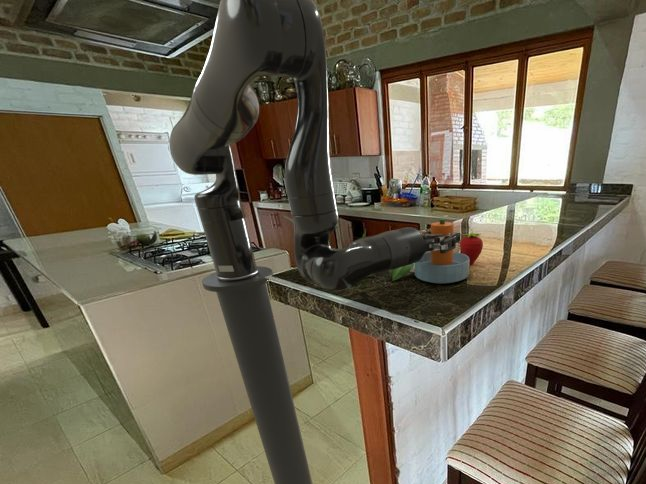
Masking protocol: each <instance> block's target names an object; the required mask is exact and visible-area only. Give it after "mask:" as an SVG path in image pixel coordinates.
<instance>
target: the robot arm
mask: <svg viewBox="0 0 646 484" xmlns="http://www.w3.org/2000/svg"><path fill="white" fill-rule="evenodd" d="M259 77H278V78H279V77H280V78H291V79H293V83H294V87H295V93H296V98H297V117H296V122H295V128H294V132H293V135H292V139H291V142H290V146H289V149H288V152H287V156H286V161H285V167H284V185H285V190H286V195H287V199H288V205H289V209H290V213H291V216H292V220H293V221H294V224H293V225H294V229H293V232H294V233H293V244H294V245H293V251H294V252H293V253H294V262H295V265H296V269H297V271H298V273H299V275H300V276H301V277H302V279H303V280H304V281H305V282H307V283H309V284H311V285H314V286H316V287H319V288H321V289H323V290H325V291H329V292H340V291H344V290H345V291H346V290H348V289H350V288H352V287H354V286H356V285H358V284H359V283H360V282H362V281H364V280H366V279H367V278H368V276H369V275H372V276H374V275H376V274H379V273H383V272H387V271H392V270H393V269H397V268H400V267H403V266H406V265H410V264H413V263H416V262H418V261H420V260H421V258H422V257H423V255H424V253H430V252H431V251H437V250H440V253H442V254H444V253H446V252H448V251H450V250H452V249H453V250H454V249H456V248H457V243H460V242H461V237H462V235H460V234H461V232H459V231H456V232H453V233H452V234H447V235H442V234H439V233H437V234H431V230H421V229H416V228H414V227H413V226H406V227H402V228H401V227H400V228H397V229H392V230H388V231H383V232H380V233H378V234H375V235H370V236H365V237H364V238H362V237H360V238H361V239H360V238H357V239H355V240H353V241H352V242H350V244H349V245H348V247H344V248H335V247H331V240H330V239H331V233H332V232H334V231H335V230H336V229H337V228H338V226H339V211H338V205H337V199H336V192H335V186H334V182H333V174H332V167H331V158H330V137H329V135H330V134H329V133H330V132H329V128H330V126H329V91H328V61H327V46H326V37H325V30H324V26H323V22H322V18H321V14H320V12H319V9H318V7H317V5H316V3H315V2H314V0H220V2H219V5H218V10H217V15H216V20H215V24H214V30H213V34H212V39H211V43H210V48H209V51H208V54H207V57H206V60H205V63H204V66H203V69H202V71H201V74H200V75H199V77H198V79H197V81H196V83H195V86H194V88H193V90H192V94H191V97H190V100H189V103H188V105H187V107H186V109H185V111H184V113H183V115H182V116H181V117H180V119H179V120H178V121H177V123H176V124H175V125H174V126H173V128H172V129H171V131H170V134H169V135H170V136H169V150H170V155H171V158H172V160H173V162H174V163H175V165H176V166H177V168H178V169H180V171H182V172H184V173H185V174H188V175H193V176H204V175H205V176H207V175H208V176H209V175H215V181H214V182H213V183H212V184H211V185H210V186H209V187H207V188H205V189H203V190H201V191H199V192H196V193H195V195H194V198H193V199H194V202H195V206H196V210H197V213H198V216H199V220H200V222H201V225H202V226H201V227H202V229H203V232H204V236H205V239H206V242H207V246H208V249H209V254H210V256H211V259H212V264H213V266H214V270H215V273H216V274H217V279H218V280H219V281H225V282H232V281H240V280H245V279H249V278H252V277H254V276H256V275H257V274H258V269H257V267H256V266H257V263H256V258H255V254H254V249H253V246H252V241H251V238H250V233H249V229H248V225H247V221H246V217H245V213H244V209H243V205H242V200H241V193H240V186H239V182H238V178H237V173H236V166H235V160H234V156H233V151H232V147H231V145H233V144H236V143H238V142H240V141H241V140H242V139H244V138H245V137H246V136H247V135H248V134H249V132H250V131H251V130H252V128H253V127H254V126H255V125H256V123H257V122H258V118H259V116H260V101H259V98H258V94H257V92H256V90H255V87H254V86H253V83H252V82H253V80H254V79H256V78H259ZM435 237H437V243H436V238H435ZM444 238H446V239H444ZM373 274H374V275H373ZM369 277H370V276H369Z"/></svg>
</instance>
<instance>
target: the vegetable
mask: <svg viewBox="0 0 646 484" xmlns="http://www.w3.org/2000/svg"><path fill="white" fill-rule="evenodd" d="M454 224H455V223H454V222H450V221H446V219H445V218H439V221H436V222H435V221H434V222H432V223H430V231H431V234H437V233H439V234H442V235H447V234H452V233H454V227H455V226H454ZM435 238H436V243H437V237H435ZM444 239H446V238H444ZM453 252H454V249H452V250H450V251H448V252H446V253H444V254H442V253H440V250H437V251H431V263H432V264H434V265H449V264H452V263H453Z"/></svg>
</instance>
